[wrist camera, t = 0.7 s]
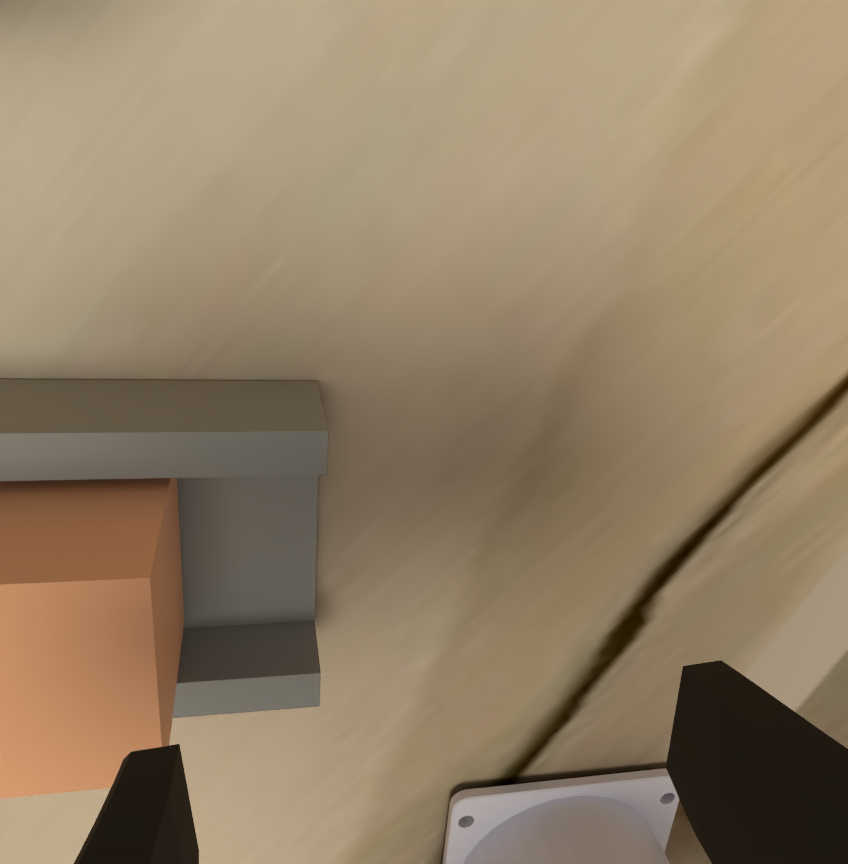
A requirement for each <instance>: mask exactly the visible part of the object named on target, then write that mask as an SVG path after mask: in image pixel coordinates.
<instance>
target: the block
mask: <svg viewBox="0 0 848 864" xmlns="http://www.w3.org/2000/svg"><path fill="white" fill-rule="evenodd" d="M183 628H184V604H183V584H182V565H181V545H180V525H179V506H178V486H177V478H140V479H88V480H35V481H0V798H9V797H19V796H30V795H40V794H50V793H61V792H71V791H82V790H92V789H102V788H111V787H112V785H113V783H114V780H115V778H116V776H117V773H118V771H119V769H120V766H121V764H122V761H123V759H124V758H125V757H126V756H127V755H128V754H129V753H130V752H132V751H138V750H145V749H151V748H158V747H164V746H169V740H170V732H171V724H172V716H173V708H174V700H175V692H176V684H177V676H178V668H179V660H180V652H181V644H182V636H183Z"/></svg>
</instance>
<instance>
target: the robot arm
mask: <svg viewBox="0 0 848 864" xmlns="http://www.w3.org/2000/svg"><path fill="white" fill-rule="evenodd" d="M679 799H680V802H681V804H682V806H683V808H684V810H685V813H686V815H687V817H688V819H689V821H690V823H691V825H692V828H693V830H694V832H695V834H696V836H697V838H698V840H699V841H700V843H701V845H702V847H703V848H704V850H705V852H706V854H707V855H708V857H709V859H710V860H711V862H712V864H848V749H847V748H845V747H844V746H843V745H841V744H840V743H838V742H837V741H835V740H834V739H832V738H831V737H830V736H828V735H827V734H825V733H824V732H822V731H821V730H820V729H818V728H817V727H815V726H814V725H812V724H811V723H810V722H808V721H807V720H805V719H804V718H802V717H801V716H800V715H798V714H797V713H795V712H794V711H793V710H791V709H790V708H788V707H787V706H786V705H784V704H783V703H781V702H780V701H778V700H777V699H776V698H774V697H773V696H772V695H770V694H769V693H767V692H766V691H764V690H763V689H762V688H760V687H759V686H757V685H756V684H755V683H753V682H752V681H750V680H749V679H747V678H746V677H745V676H743V675H742V674H740V673H739V672H737V671H736V670H734V669H733V668H731V667H730V666H728V665H727V664H725V663H724V662H722V661H714V662H708V663H701V664H695V665H688V666H683V670H682V676H681V682H680V688H679V693H678V699H677V705H676V711H675V717H674V723H673V729H672V735H671V741H670V746H669V752H668V758H667V764H666V768H664V769H654V770H645V771H635V772H626V773H617V774H607V775H598V776H588V777H579V778H569V779H560V780H551V781H541V782H532V783H522V784H513V785H504V786H494V787H485V788H475V789H466V790H462V791H460V792H458V793H456V794H455V795H454V796H453V797H452V798H451V801H450V805H449V814H448V822H447V830H446V838H445V846H444V854H443V862H442V864H670V862H669V860H668V858H667V856H666V855H665V849H666V846H667V842H668V838H669V835H670V831H671V828H672V824H673V820H674V817H675V813H676V810H677V806H678V802H679ZM464 816H465V817H464ZM74 864H199V850H198V844H197V839H196V833H195V828H194V822H193V817H192V811H191V806H190V800H189V795H188V789H187V784H186V779H185V773H184V768H183V762H182V757H181V751H180V746H179V744H177V745H171V746H164V747H158V748H151V749H145V750H138V751H132V752H130V753H129V754H128V755H127V756H126V757H125V758H124V759H123V761H122V764H121V766H120V769H119V771H118V773H117V776H116V778H115V780H114V783H113V785H112V787H111V789H110V791H109V794H108V796H107V798H106V800H105V802H104V804H103V807H102V809H101V811H100V813H99V815H98V817H97V819H96V821H95V823H94V825H93V827H92V829H91V831H90V833H89V835H88V837H87V839H86V841H85V843H84V845H83V847H82V849H81V851H80V853H79V855H78V857H77V859H76V860H75V862H74Z"/></svg>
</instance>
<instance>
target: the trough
mask: <svg viewBox="0 0 848 864" xmlns="http://www.w3.org/2000/svg"><path fill="white" fill-rule="evenodd" d="M327 458H328V427H327V423H326V418H325V413H324V409H323V404H322V400H321V395H320V391H319V386H318V381H249V380H84V379H0V481H35V480H88V479H140V478H177V486H178V506H179V525H180V545H181V565H182V584H183V604H184V628H183V636H182V644H181V652H180V660H179V668H178V676H177V684H176V692H175V700H174V708H173V716H172V718H179V717H192V716H204V715H217V714H229V713H242V712H254V711H267V710H279V709H292V708H304V707H317V706H319V705H320V674H321V673H320V664H319V656H318V647H317V638H316V630H315V621H314V619H315V583H316V547H317V511H318V475H327Z"/></svg>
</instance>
